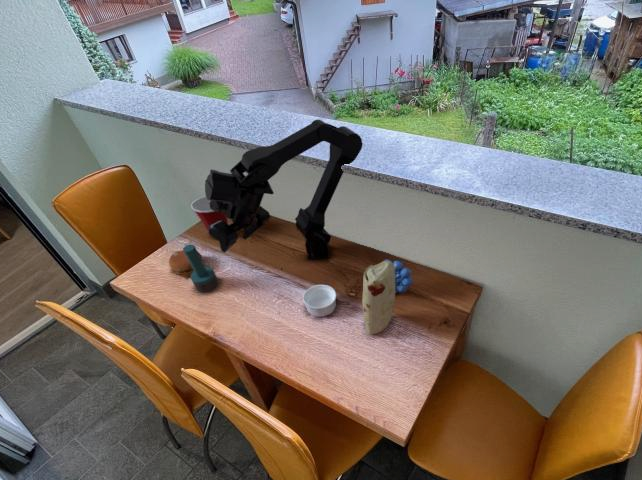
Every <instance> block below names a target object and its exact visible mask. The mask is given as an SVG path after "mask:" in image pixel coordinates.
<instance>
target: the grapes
mask: <svg viewBox="0 0 642 480" xmlns="http://www.w3.org/2000/svg"><path fill="white" fill-rule="evenodd" d="M384 261H390V262H392V263H393V264H394V267H395V294H396V293H398V292H399V293H406V292H407V291H408V287H411V286H412V285H413V283H414V281H413V278H412V277H411V274H412V271H411V269H410V268H409V267H404V266H403V265H404V264H403V262H402V261H400V260H394V261H392V260H391V259H388V258H387V259H383V261H382V262H384Z"/></svg>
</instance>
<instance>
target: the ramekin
mask: <svg viewBox="0 0 642 480" xmlns="http://www.w3.org/2000/svg"><path fill="white" fill-rule="evenodd" d="M302 300H303V303H304V304H305V307H306V310H307V313H309V314H310V315H312V316H314V317H318V318H319V317H326V316H329V315H330V314H331V313H333V312H334V310H335V309H336V306H337V305H336V304H337V301H336V300H337V292H336V290H335V288H333V287H332V286H330V285H327V284H315V285H313V286H310V287H308V288H307V289H306V290H305V292H304V293H303V296H302Z"/></svg>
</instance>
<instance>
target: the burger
mask: <svg viewBox="0 0 642 480" xmlns="http://www.w3.org/2000/svg"><path fill="white" fill-rule="evenodd" d="M197 252H198V254H199V256H200V258H201V260H202V262H203V263H204V261H203V255H202V254H201V253H200V252H199V251H198V250H197ZM168 264H169V267H170V268H171V269H170V270H171V273H173V274H175V275H176V276H178V277H184V278H187V277H191V274H192V272H193V271H194V270H193V268H192V266H191V264H190V262H189V260H188V258H187V257H186V255H185V253H184V251H183V249H182V250H177V251H175V252H174V253H172V254H171V255H170V257H169V259H168Z"/></svg>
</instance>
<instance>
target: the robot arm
mask: <svg viewBox="0 0 642 480" xmlns="http://www.w3.org/2000/svg"><path fill="white" fill-rule="evenodd" d="M322 142H326V143H328V144H329V159H328V161H327V164H326V166H325V168H324V171H323V173H322V176H321V178H320V180H319V181H318V185H317V186H316V189H315V191H314V194H313V196H312V199H311V201H310V204H309V205H308V206H307V207H306V208H302V207H300V208H299V209H298V213H297V216H296V217H295V218H294V220H295V227H296V229H297V231H298V232H299V233H300V234H301V235H302V236H303V237H304V239H305V243H304V245H305V249H306V254H307V259H308V260H328V259H329V257H330V251H331V245H330V244H329V243H330V242H331V238H332V235H331V234H330V233H329V232H328V231H327V230H326V229H325V226H326V216H325V215H326V212H327V210H328V207H329V206H330V203H331V201H332V198H333V196H334V194H335V192H336V190H337V187H338V185H339V183H340V181H341V178H342V176H343V174H344V173H345V170H344V171H342V169H341V166H342V165H344V164H349V165H351V164H352V163H353V162H354V161H355V160H356V159H357V157H358V156H359V154H360V153H361V151H362V148H363V145H364V144H363V143H364V142H363V139H362V138H361V136H360V135H359V134H358V133H356V132H355V131H354V130H352V129H350V128H349V127H347V126H344V125H343V126H339V127H337V126H336V125H333V124H330V123H327V122H326V121H323V120H322V119H315V120H313V121H311V123H309V124H308V125H306V126H305V127H302V128H301V129H299V130H297V131H296V132H294V133H292V134H290V135H288V136H287V137H284V138H283V139H281V140H279V141H277V142H275V143H274V144H271V145H266V146H264V145H263V146H258V147H255V148H252V149H249V150H247V151H245V152H243V154H242V156H241V159H240V160H239V162H237V163H236V164H235V165H234V166H233V167H232V168H231V169H229V172H230V173H227V172H222V171H219V170H216V169H210V170H209V174H208V175H207V177H206V179H205V181H204V194H205V197H206V198H207V199H208V200H211V201H210V203H209V204H210V208H211V209H212V210H214V211H216V212H220V211H221V212H223V213H226V217H227V220H231V223H230V224H229V223H228V224H226V223H225V222H224V221H218V222H216V223H214V224H212V225H210V226H209V230H207V232H208V233H207V234H209V235H210V236H211V237H212V238H214V239H215V240H217V241H218V242H219V246H220V251H221V252H222V253H224V254H226V252H228V251H229V249H231V248H232V247H233V246H234V245H235V244H236V243H237V242H238V241H237V240H238V238H239V232H240V231H242V230H243V231H242V238H243V240H247V239H248V238H249V237H251V236H252V235H253V234H254V233H256V232H257V231H259V230H260V229H261V228H262V227H263V226H264V225H266V224H267V223H268V222H269V221H270V218H271V214H270V212H269V211H268V210H267V209H265V208H264V207H262V206H261V204H262V201H263V199H264V196H265V194H267V195H274V190H273V188H272V185H271V184H270V182H269V180H270V179H272V178H273V177H274V176H275V175H277V173H278V172H279V171H280V169H281V168H282V166H284V165H285V163H288V162H289V161H291V160H293V159H294V158H296V157H298V156H299V155H301V154H303V153H305V152H307V151H309V150H310V149H312V148H313V147H316V146H317V145H319V144H321V143H322ZM350 163H351V164H350ZM245 173H246V175H245Z"/></svg>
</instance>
